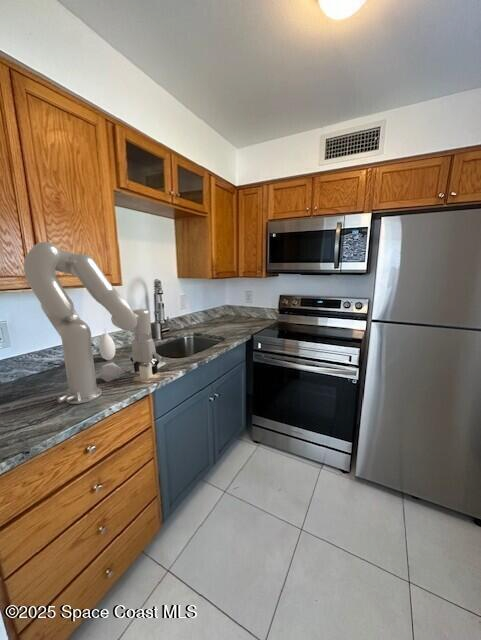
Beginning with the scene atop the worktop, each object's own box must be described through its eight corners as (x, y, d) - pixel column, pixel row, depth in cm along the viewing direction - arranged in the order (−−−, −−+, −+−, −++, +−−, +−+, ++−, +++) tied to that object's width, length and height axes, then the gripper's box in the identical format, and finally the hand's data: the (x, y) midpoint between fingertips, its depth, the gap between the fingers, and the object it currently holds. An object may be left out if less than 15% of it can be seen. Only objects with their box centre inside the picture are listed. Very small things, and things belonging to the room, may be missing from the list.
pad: (148, 383, 117) (148, 382, 117) (132, 381, 120) (131, 380, 120) (160, 375, 126) (160, 374, 126) (144, 373, 129) (144, 372, 128)
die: (121, 383, 120) (125, 362, 124) (102, 379, 114) (107, 358, 118) (112, 385, 125) (117, 365, 129) (93, 382, 119) (99, 361, 123)
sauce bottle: (118, 359, 150) (115, 328, 146) (104, 363, 144) (100, 331, 141) (112, 356, 155) (109, 326, 152) (98, 360, 149) (94, 329, 146)
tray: (147, 375, 126) (147, 373, 126) (130, 373, 130) (130, 371, 129) (166, 364, 141) (166, 362, 141) (150, 362, 144) (150, 360, 144)
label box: (147, 379, 120) (146, 366, 119) (140, 378, 122) (138, 365, 120) (153, 376, 124) (151, 363, 123) (145, 375, 125) (144, 362, 124)
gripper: (121, 337, 118) (125, 373, 122) (153, 340, 113) (157, 377, 116) (132, 333, 125) (136, 367, 129) (164, 335, 120) (166, 371, 123)
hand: (146, 372), depth 122 cm, fingers open, 9 cm apart
